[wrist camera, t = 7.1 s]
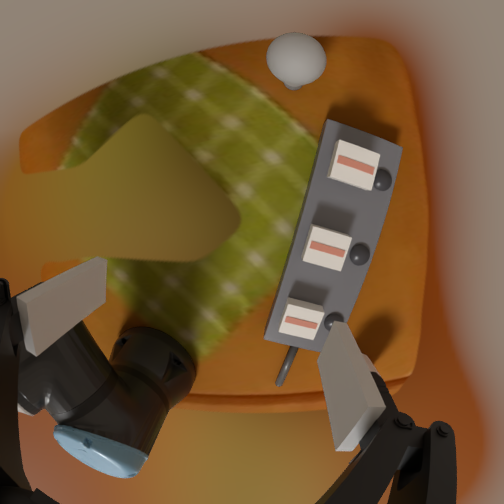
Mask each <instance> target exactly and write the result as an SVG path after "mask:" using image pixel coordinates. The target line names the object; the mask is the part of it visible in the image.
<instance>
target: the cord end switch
mask: <svg viewBox="0 0 504 504" xmlns="http://www.w3.org/2000/svg"><path fill="white" fill-rule="evenodd" d="M323 316H324V309H323V306H321V305H317V304H313V303H309V302H305V301H301V300H297V299H293V298H289V297H288V298H287V301H286V304H285V307H284V310H283V313H282V316H281V319H280V322H279V328H278V332H281V333H285V334H289V335H293V336H298V337H302V338H306V339H311V340H314V338H315V335H316V333H317V330H318V328H319V326H320V323H321V321H322V318H323Z"/></svg>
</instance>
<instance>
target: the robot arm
mask: <svg viewBox="0 0 504 504" xmlns="http://www.w3.org/2000/svg"><path fill="white" fill-rule="evenodd" d="M106 271H107V260H106V259H103V258H100V257H95V258H93V259H91V260H89V261H86V262H84V263H82V264H80V265H78V266H76V267H74V268H72V269H70V270H68V271H66V272H64V273H61V274H59V275H57V276H55V277H53V278H51V279H49V280H47V281H45V282H41V283H39V284H37V285H35V286H33V287H31V288H29V289H28V290H25V291H23V292H21V293H19V294H17V295H16V296H14V297H12V298H11V296H10V289H9V282H8V281H7V280H6V279H4V278H0V504H59V503H58V502H56V501H55V500H53V499H52V498H50V497H49V496H47V495H46V494H45V493H43V492H42V491H40V490H39V489H38V488H36V490H35V491H34V492H33V491H32V489H31V486H30V484H29V482H28V480H27V478H26V476H25V473H24V470H23V465H22V458H21V450H20V441H19V428H18V412H22V413H25V414H28V415H31V416H33V415H35V414H37V413H38V412H40V411H41V410H42V409H46V410H47V411H48V412H49V413H50V415H51V416H52V417H53V418H54V419H55V421H56V422H57V423H58V425H56V426H55V427H54V432H53V434H54V437H55V439H57V442H58V443H59V444H60V445H61V446H62V447H63V448H64V449H65V450H66V451H67V452H69V453H70V454H71V455H73V456H74V457H75V458H77V459H78V460H80V461H81V462H83V463H84V464H86V465H88V466H90V467H92V468H94V469H96V470H98V471H100V472H103V473H105V474H108V475H111V476H115V477H120V478H130V477H134V476H136V475H137V474H138V472H139V471H140V469H141V468H142V466H143V464H144V462H145V461H146V460H147V459H148V456H149V453H150V451H151V449H152V447H153V445H154V443H155V440H156V438H157V436H158V434H159V431H160V429H161V427H162V424H163V423H164V420H165V418H166V416H167V414H168V412H169V410H170V409H171V408H173V407H174V406H175V405H176V404H177V403H179V402H180V401H181V400H182V399H183V398H184V397H186V396H187V394H188V393H189V392H190V390H191V388H192V386H193V383H194V381H195V367H194V364H193V361H192V359H191V357H190V356H189V354H188V353H187V352H186V350H185V349H184V348H183V347H182V346H181V345H180V344H179V343H178V342H177V341H176V340H174V339H173V338H172V337H170V336H168V335H167V334H165V333H163V332H161V331H158V330H156V329H152V328H148V327H135V328H131V329H129V330H127V331H125V332H124V333H123V334H122V335H121V336H120V337H119V338H118V339H117V341H116V342H115V344H114V346H113V349H112V352H111V355H110V358H109V361H108V360H107V358H106V357H105V355H104V354H103V352H102V351H101V349H100V348H99V346H98V345H97V343H96V342H95V340H94V338H93V337H92V335H91V334H90V332H89V330H88V329H87V327H86V325H85V324H84V322H83V319H84V318H85V317H86V316H88V315H89V314H90V313H92V312H93V311H94V310H96V309H97V308H98V307H99V306H101V305H102V304H103V303H105V301H106ZM317 362H318V367H319V371H320V376H321V380H322V385H323V390H324V395H325V399H326V404H327V409H328V414H329V419H330V424H331V429H332V434H333V440H334V445H335V450H336V451H353V449H354V448H355V447H356V446H357V445H358V443H359V444H360V447H361V450H360V452H359V453H358V454H357V455H356V456H355V457H354V458H353V459H352V460H351V462H350V463H349V465H348V467H347V468H346V470H344V472H343V473H342V474H341V475H340V477H339V478H338V479H337V480H336V481H335V482H334V484H333V485H332V486H331V487H330V488H329V490H327V492H326V493H325V494H324V495H323V496H322V497H321V498H320V499H319V500H318V501H317V502H316V503H315V504H377V503H378V502H379V500H380V498H381V497H382V495H383V493H384V492H385V490H386V488H387V486H388V485H389V483H390V481H391V479H392V477H393V476H394V478H393V483H392V487H391V491H390V495H389V499H388V503H387V504H456V492H457V490H456V489H457V466H456V447H455V436H454V431H453V429H452V428H451V426H450V425H448V424H447V423H445V422H442V421H435V422H433V423H432V424H431V426H430V427H429V428H428V429H427V428H422V427H418V426H416V425H415V423H414V421H413V419H412V418H411V417H410V416H408V415H407V414H405V413H402V412H398V409H397V407H396V405H395V403H394V401H393V399H392V397H391V395H390V393H389V391H388V389H387V388H386V384H385V382H384V380H383V379H382V378H381V377H380V376H379V375H378V374H377V373H376V372H371V371H370V370H369V368H368V366H367V364H366V362H365V360H364V358H363V355H362V353H361V351H360V349H359V347H358V345H357V343H356V341H355V339H354V337H353V335H352V333H351V331H350V329H349V327H348V325H347V323H343V322H338V321H334V322H333V325H332V327H331V330H330V332H329V335H328V337H327V339H326V342H325V344H324V346H323V349H322V351H321V353H320V356H319V358H318V360H317Z"/></svg>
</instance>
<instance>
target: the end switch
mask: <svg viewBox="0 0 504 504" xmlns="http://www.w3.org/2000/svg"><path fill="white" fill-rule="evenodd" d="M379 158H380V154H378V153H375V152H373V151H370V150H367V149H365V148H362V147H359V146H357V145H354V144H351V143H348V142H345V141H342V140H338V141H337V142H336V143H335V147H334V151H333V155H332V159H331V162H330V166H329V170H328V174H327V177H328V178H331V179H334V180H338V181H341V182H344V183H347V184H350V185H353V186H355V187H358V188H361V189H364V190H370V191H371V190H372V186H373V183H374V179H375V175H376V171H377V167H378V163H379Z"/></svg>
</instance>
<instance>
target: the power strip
mask: <svg viewBox="0 0 504 504" xmlns="http://www.w3.org/2000/svg"><path fill="white" fill-rule="evenodd" d="M338 140H342V141H345V142H348V143H351V144H354V145H357V146H359V147H362V148H365V149H367V150H370V151H373V152H375V153H378V154H380V158H379V163H378V167H377V171H376V175H375V179H374V183H373V186H372V190H371V191H370V190H364V189H361V188H358V187H355V186H353V185H350V184H347V183H344V182H341V181H338V180H334V179H331V178H328V177H327V174H328V170H329V166H330V162H331V159H332V155H333V151H334V147H335V143H336V142H337V141H338ZM402 149H403V147H400V146H398V145H396V144H394V143H391V142H389V141H386V140H384V139H382V138H379V137H377V136H374V135H372V134H369V133H366V132H364V131H361V130H358V129H356V128H353V127H350V126H347V125H344V124H341V123H338V122H335V121H332V120H329V119H327V120H326V122H325V123H324V124H323V128H322V132H321V136H320V140H319V144H318V148H317V152H316V156H315V160H314V164H313V167H312V171H311V175H310V179H309V182H308V186H307V190H306V193H305V197H304V201H303V204H302V208H301V211H300V215H299V219H298V222H297V226H296V229H295V232H294V236H293V239H292V243H291V246H290V249H289V253H288V256H287V260H286V263H285V266H284V269H283V273H282V276H281V279H280V282H279V286H278V289H277V292H276V295H275V298H274V302H273V305H272V308H271V311H270V314H269V317H268V320H267V323H266V326H265V332H264V339H265V340H269V341H273V342H277V343H281V344H286V345H290V349H289V351H288V354H287V356H286V359H285V361H284V363H283V366H282V368H281V371H280V373H279V375H278V378H277V380H276V382H275V384H276V386H278V387H280V386H282V384H283V382H284V380H285V378H286V376H287V373H288V371H289V369H290V367H291V364H292V362H293V360H294V357H295V355H296V353H297V350H298V348H303V349H308V350H313V351H317V352H321V351H322V349H323V346H324V344H325V342H326V339H327V337H328V335H329V332H330V330H331V327H332V325H333V322H334V321H338V322H343V323H347V321H348V318H349V316H350V314H351V311H352V309H353V307H354V304H355V302H356V299H357V297H358V294H359V292H360V289H361V287H362V284H363V282H364V279H365V276H366V274H367V271H368V268H369V265H370V263H371V260H372V257H373V254H374V251H375V248H376V245H377V242H378V239H379V236H380V233H381V230H382V226H383V223H384V220H385V216H386V213H387V210H388V206H389V203H390V199H391V195H392V191H393V188H394V184H395V180H396V175H397V171H398V167H399V163H400V158H401V153H402ZM311 224H315V225H318V226H321V227H325V228H328V229H331V230H335V231H338V232H341V233H345V234H348V235H349V236H350V237H352V240H351V243H350V246H349V249H348V252H347V255H346V258H345V261H344V264H343V267H342V269H341V271H338V270H334V269H330V268H327V267H323V266H319V265H316V264H312V263H309V262H305V261H303V260H302V257H301V255H302V252H303V249H304V246H305V242H306V239H307V236H308V232H309V229H310V226H311ZM288 297H289V298H293V299H297V300H301V301H305V302H309V303H313V304H317V305H321V306H323V309H324V316H323V318H322V321H321V323H320V326H319V328H318V330H317V333H316V335H315V338H314V340H311V339H306V338H302V337H298V336H293V335H289V334H285V333H281V332H278V328H279V322H280V319H281V316H282V313H283V310H284V307H285V304H286V301H287V298H288Z"/></svg>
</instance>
